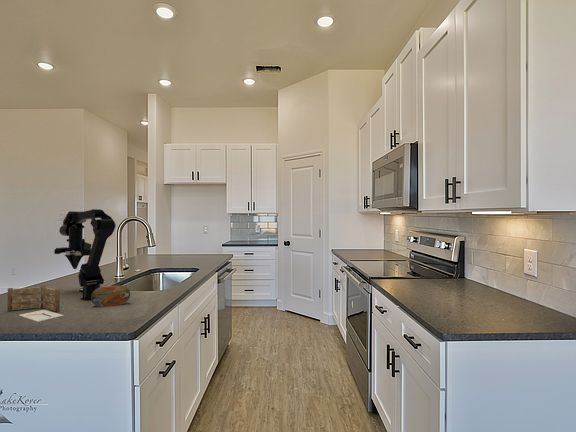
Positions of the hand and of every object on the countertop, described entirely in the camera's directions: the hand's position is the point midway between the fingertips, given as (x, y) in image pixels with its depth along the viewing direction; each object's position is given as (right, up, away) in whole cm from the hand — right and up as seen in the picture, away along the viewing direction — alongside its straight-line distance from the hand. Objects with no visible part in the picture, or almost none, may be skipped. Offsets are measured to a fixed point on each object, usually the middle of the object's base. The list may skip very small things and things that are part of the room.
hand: (75, 269), depth 168 cm
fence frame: (+6, -12, -27) cm, 31 cm away
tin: (+27, -13, -19) cm, 35 cm away
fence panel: (-4, -12, -28) cm, 30 cm away
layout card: (+9, -13, -36) cm, 39 cm away
